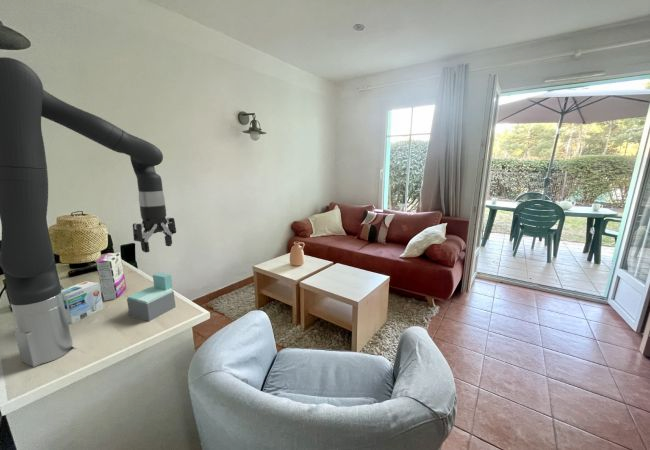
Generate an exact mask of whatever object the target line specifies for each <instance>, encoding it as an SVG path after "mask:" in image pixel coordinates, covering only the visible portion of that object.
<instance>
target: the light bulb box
mask: <svg viewBox="0 0 650 450" xmlns="http://www.w3.org/2000/svg"><path fill="white" fill-rule="evenodd" d="M61 292H62V297H63V302H64V306H65V311H66V316H67V320H68V325H70V324H73V323H74V324H75V323H77V322H79V321H80V320H83V319H85V318H86V317H88V316H91V315H93V314H94V313H97V312H99V311H100V310H103V309H104V303H103V296H102V290H101V285H100V282H92V281H82V282H80V283H77V284H74V285H72V286H71V285H70V286H69V287H66V288H64V289H61Z"/></svg>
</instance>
